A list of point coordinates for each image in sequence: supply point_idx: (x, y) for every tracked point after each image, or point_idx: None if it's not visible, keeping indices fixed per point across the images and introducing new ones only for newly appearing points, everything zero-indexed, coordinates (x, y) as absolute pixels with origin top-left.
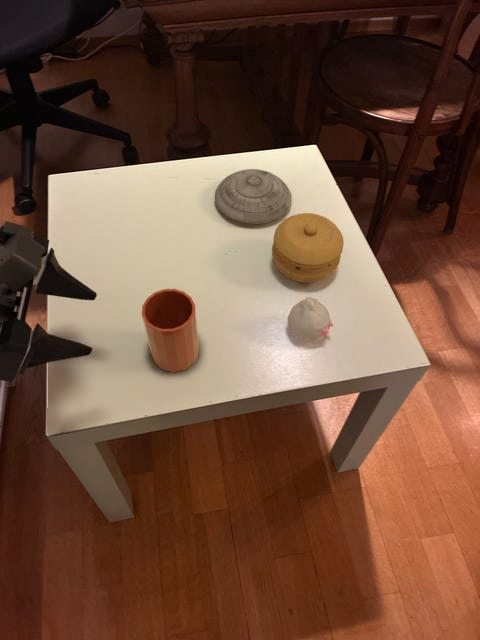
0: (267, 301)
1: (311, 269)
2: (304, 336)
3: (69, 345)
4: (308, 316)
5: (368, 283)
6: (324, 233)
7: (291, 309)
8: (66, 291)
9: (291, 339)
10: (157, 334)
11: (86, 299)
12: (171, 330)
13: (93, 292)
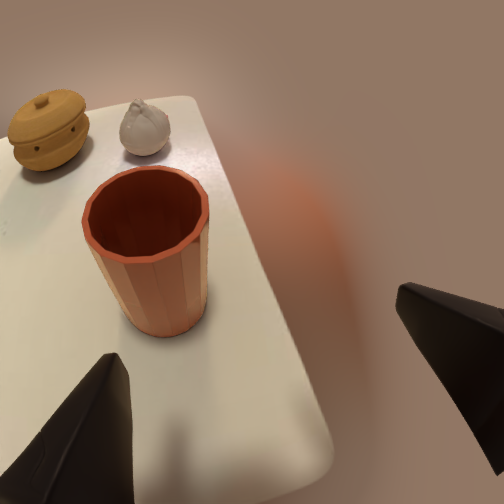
0: (92, 183)
1: (81, 119)
2: (167, 133)
3: (480, 305)
4: (153, 111)
5: (99, 114)
6: (50, 97)
7: (129, 135)
8: (114, 480)
9: (155, 161)
10: (203, 239)
11: (129, 402)
12: (206, 197)
13: (106, 360)
